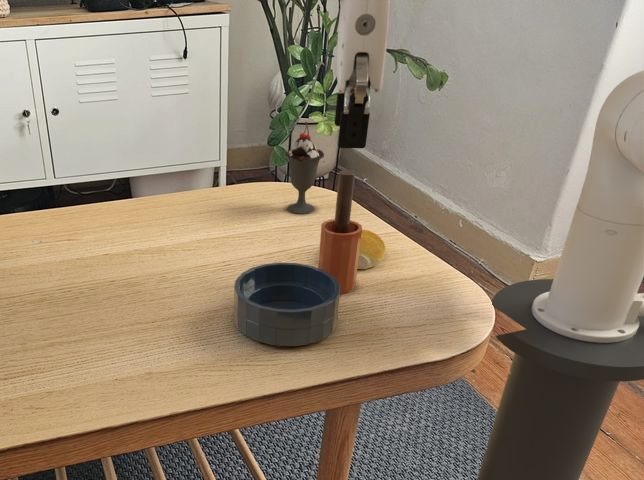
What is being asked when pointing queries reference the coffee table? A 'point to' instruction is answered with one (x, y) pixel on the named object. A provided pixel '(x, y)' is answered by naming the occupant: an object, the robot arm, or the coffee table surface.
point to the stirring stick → (344, 201)
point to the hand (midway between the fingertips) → (348, 135)
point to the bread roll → (370, 250)
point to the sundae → (303, 170)
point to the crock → (340, 253)
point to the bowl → (286, 303)
